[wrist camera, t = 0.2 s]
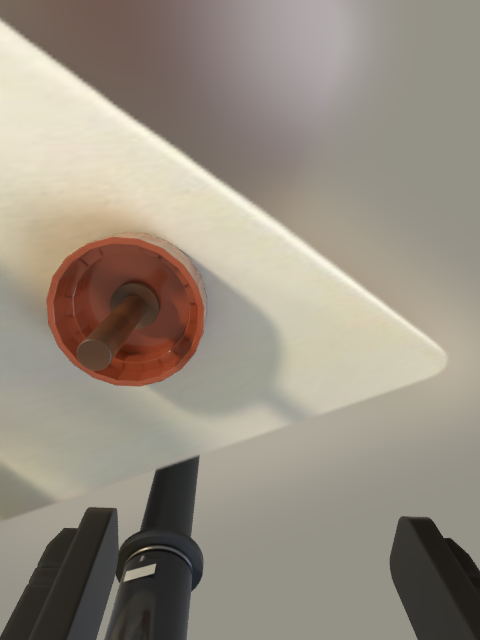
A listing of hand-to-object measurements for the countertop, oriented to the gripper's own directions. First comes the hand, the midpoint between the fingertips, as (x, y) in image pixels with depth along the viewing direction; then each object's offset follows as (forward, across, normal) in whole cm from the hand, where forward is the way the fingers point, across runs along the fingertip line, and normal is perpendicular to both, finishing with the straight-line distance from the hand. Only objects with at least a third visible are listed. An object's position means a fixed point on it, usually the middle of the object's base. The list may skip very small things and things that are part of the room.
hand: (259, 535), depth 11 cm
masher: (+30, -10, -2) cm, 32 cm away
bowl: (+31, -10, -2) cm, 33 cm away
